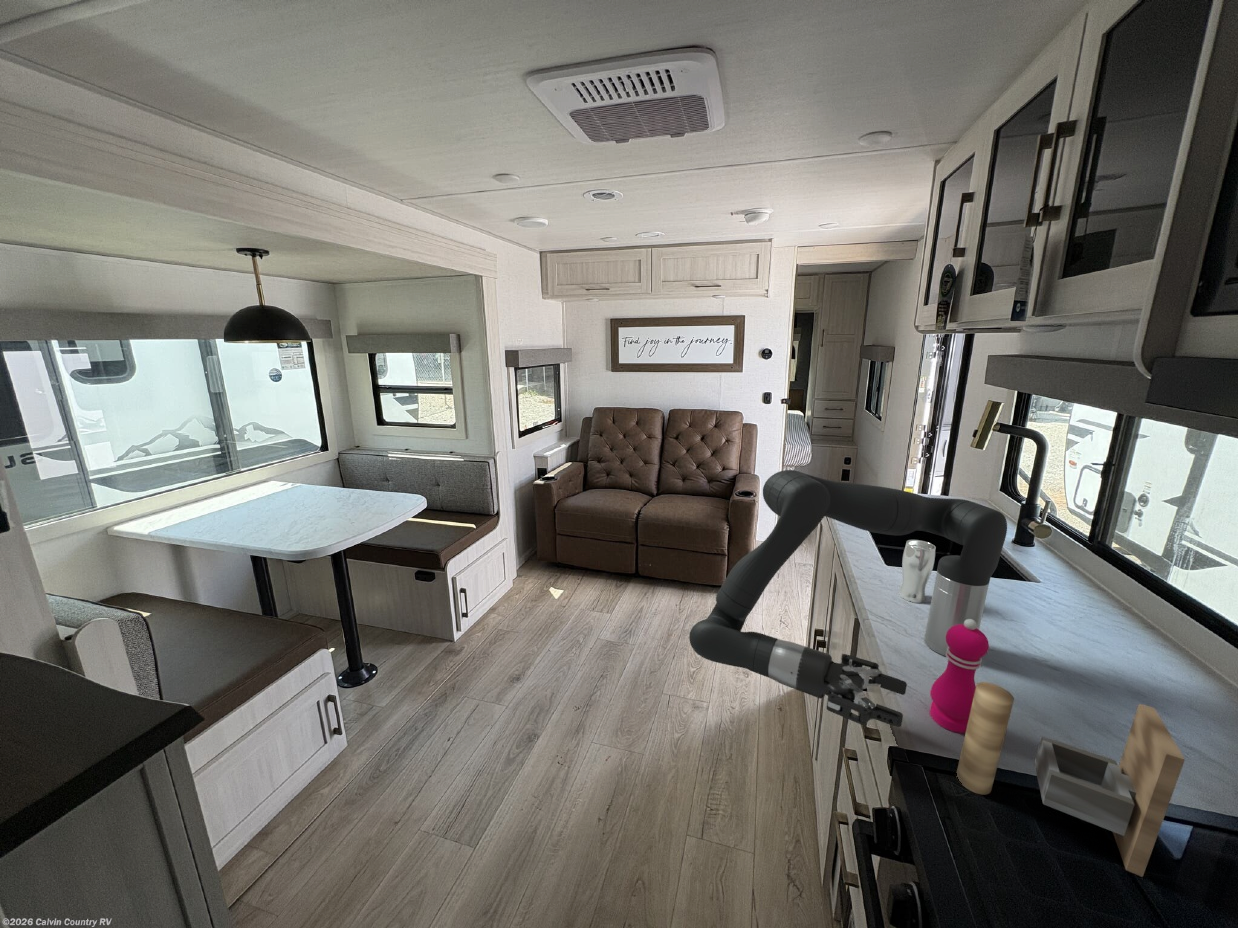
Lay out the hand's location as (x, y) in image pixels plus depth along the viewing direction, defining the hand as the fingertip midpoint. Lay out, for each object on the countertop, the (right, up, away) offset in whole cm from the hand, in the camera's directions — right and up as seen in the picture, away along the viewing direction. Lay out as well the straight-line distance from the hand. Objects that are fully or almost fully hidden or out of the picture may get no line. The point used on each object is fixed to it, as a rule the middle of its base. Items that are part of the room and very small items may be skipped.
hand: (904, 703), depth 78 cm
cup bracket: (+19, -12, -10) cm, 24 cm away
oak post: (+9, -10, -3) cm, 14 cm away
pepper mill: (+14, -7, +9) cm, 18 cm away
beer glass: (+32, +3, +51) cm, 61 cm away
